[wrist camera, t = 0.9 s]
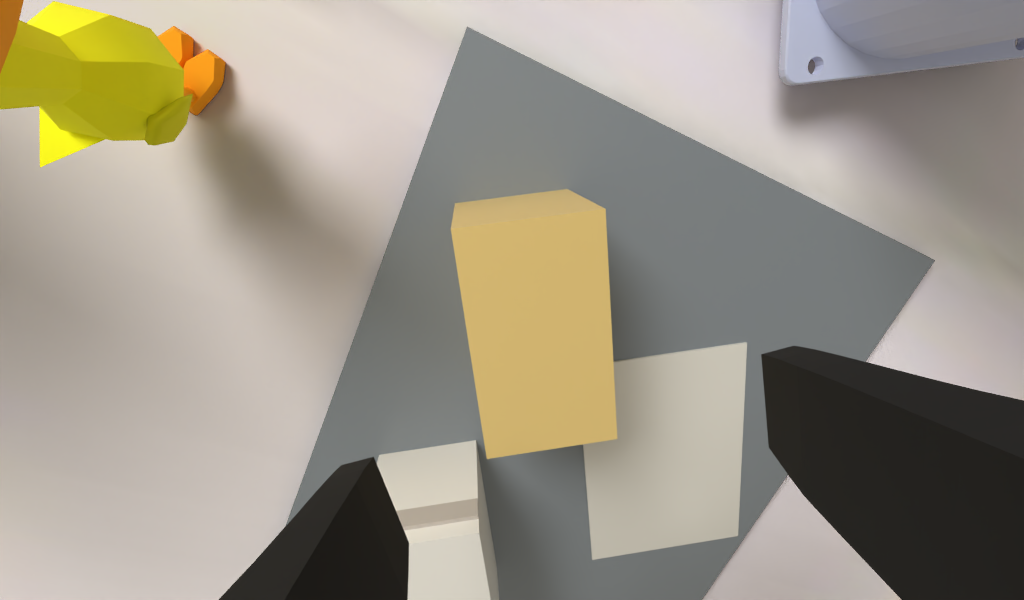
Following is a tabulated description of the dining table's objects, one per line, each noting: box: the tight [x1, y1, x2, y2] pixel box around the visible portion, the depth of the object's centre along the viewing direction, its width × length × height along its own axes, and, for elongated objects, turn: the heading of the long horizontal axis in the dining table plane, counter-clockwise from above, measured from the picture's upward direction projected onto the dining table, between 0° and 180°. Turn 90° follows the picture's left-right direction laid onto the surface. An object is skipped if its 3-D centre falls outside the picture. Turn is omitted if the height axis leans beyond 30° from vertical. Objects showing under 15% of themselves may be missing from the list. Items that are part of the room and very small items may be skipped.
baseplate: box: [286, 27, 935, 600], centre depth 21 cm, size 24×20×1 cm
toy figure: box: [0, 0, 226, 167], centre depth 10 cm, size 7×4×12 cm, turn 145°
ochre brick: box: [451, 189, 617, 459], centre depth 16 cm, size 4×7×5 cm, turn 7°
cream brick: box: [377, 440, 499, 600], centre depth 19 cm, size 4×7×5 cm, turn 6°
